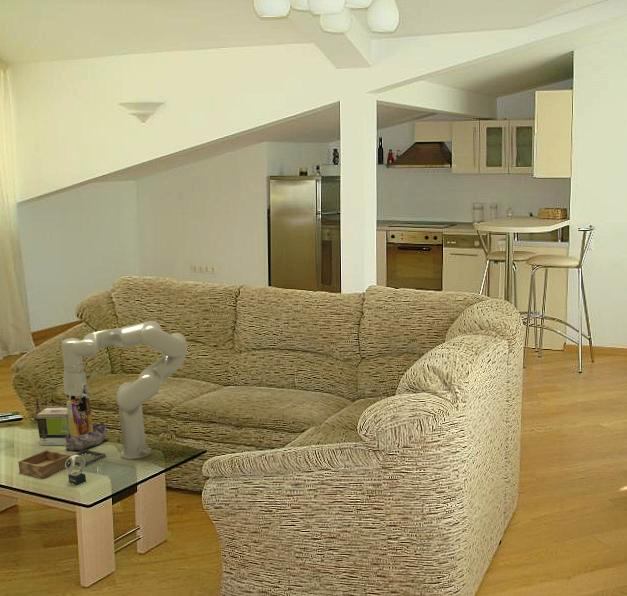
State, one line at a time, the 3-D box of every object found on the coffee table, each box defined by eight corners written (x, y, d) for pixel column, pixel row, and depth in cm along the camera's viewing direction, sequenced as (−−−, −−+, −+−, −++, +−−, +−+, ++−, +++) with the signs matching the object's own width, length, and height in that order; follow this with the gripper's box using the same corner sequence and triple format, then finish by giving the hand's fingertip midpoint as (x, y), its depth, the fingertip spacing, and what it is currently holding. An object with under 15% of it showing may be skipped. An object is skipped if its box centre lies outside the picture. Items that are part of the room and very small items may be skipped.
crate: (71, 466, 391) (69, 454, 390) (44, 478, 379) (42, 467, 378) (47, 461, 399) (45, 449, 398) (19, 473, 387) (18, 461, 386)
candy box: (87, 429, 400) (84, 395, 397) (93, 431, 397) (89, 396, 394) (69, 435, 393) (65, 400, 390) (75, 437, 390) (71, 402, 387)
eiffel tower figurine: (58, 419, 457) (55, 392, 454) (41, 425, 449) (37, 398, 446) (39, 414, 466) (36, 389, 463) (22, 420, 458) (19, 394, 455)
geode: (96, 436, 427) (96, 415, 425) (113, 443, 421) (114, 422, 418) (60, 448, 412) (60, 427, 409) (77, 456, 405) (77, 434, 402)
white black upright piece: (64, 483, 372) (61, 457, 370) (82, 477, 378) (79, 451, 376) (72, 487, 368) (69, 460, 366) (90, 480, 374) (87, 454, 372)
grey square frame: (105, 457, 399) (105, 453, 399) (83, 467, 389) (83, 463, 388) (85, 452, 406) (84, 449, 406) (62, 462, 396) (62, 459, 395)
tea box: (80, 438, 426) (77, 406, 423) (70, 446, 416) (67, 414, 413) (50, 437, 429) (46, 406, 426) (39, 445, 419) (35, 413, 416)
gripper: (52, 368, 391) (58, 410, 395) (81, 372, 382) (86, 415, 385) (66, 364, 397) (71, 405, 401) (95, 367, 388) (100, 410, 392)
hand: (78, 409), depth 393 cm, fingers closed on candy box, 4 cm apart
